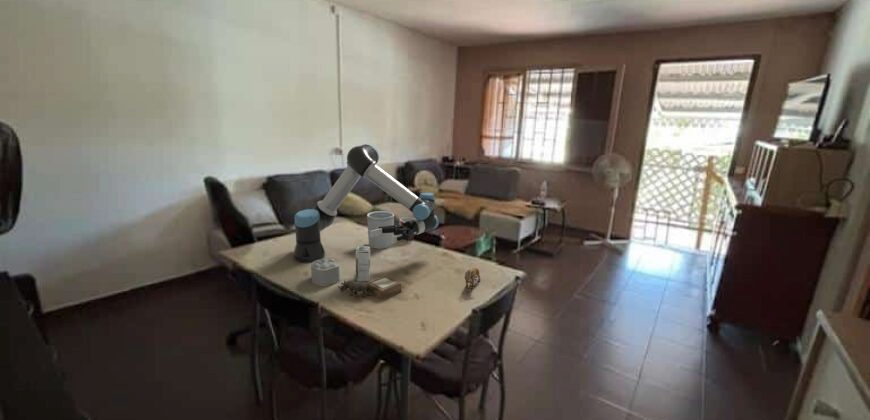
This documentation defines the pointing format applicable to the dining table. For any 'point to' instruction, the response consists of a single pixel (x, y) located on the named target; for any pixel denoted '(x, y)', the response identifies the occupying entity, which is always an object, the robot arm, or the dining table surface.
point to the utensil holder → (374, 223)
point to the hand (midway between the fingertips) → (380, 237)
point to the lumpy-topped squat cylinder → (325, 272)
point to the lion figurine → (471, 276)
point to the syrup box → (362, 263)
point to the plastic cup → (406, 221)
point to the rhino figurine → (355, 287)
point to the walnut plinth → (384, 287)
